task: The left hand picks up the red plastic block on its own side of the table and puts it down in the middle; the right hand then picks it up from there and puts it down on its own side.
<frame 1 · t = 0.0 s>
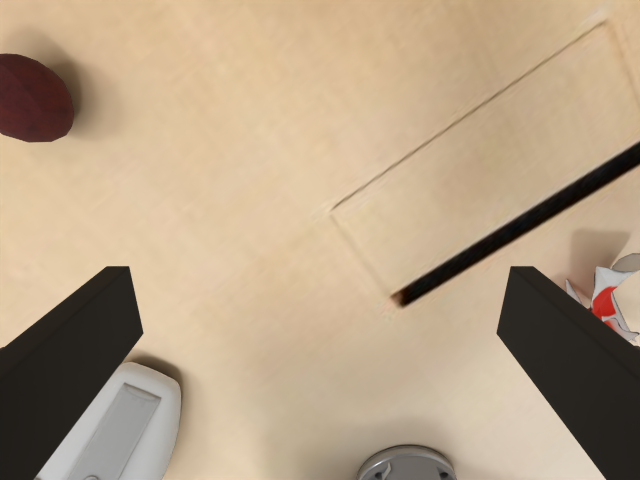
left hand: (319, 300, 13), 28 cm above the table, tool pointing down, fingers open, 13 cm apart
projector: (128, 417, 52), on the table
fish: (566, 288, 44), on the table
dark red ball: (53, 101, 36), on the table
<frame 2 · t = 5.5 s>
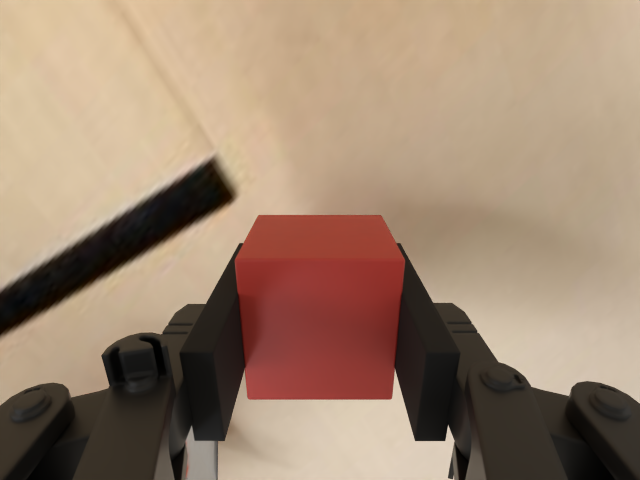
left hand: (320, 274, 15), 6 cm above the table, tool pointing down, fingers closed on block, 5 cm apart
block: (319, 273, 15), point 6 cm above the table, touching left hand
fish: (152, 409, 25), on the table
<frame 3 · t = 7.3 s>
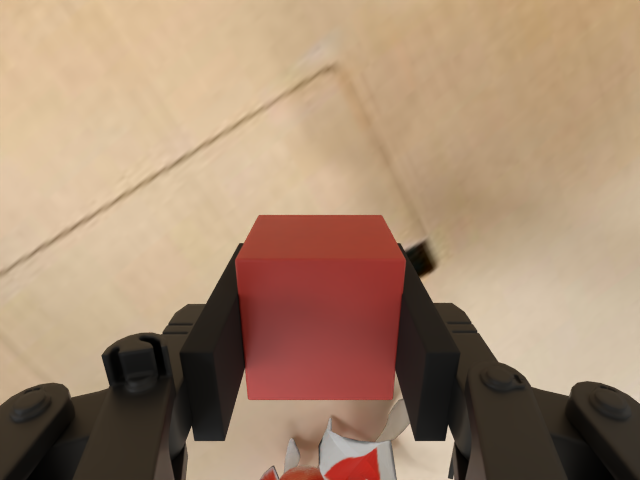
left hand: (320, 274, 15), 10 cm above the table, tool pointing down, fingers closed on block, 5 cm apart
block: (320, 274, 15), point 10 cm above the table, touching left hand
fish: (334, 427, 32), on the table
when the left hand's fingers open (1 cm above the table, at t = 9.2 s): block stays where it is, on the table.
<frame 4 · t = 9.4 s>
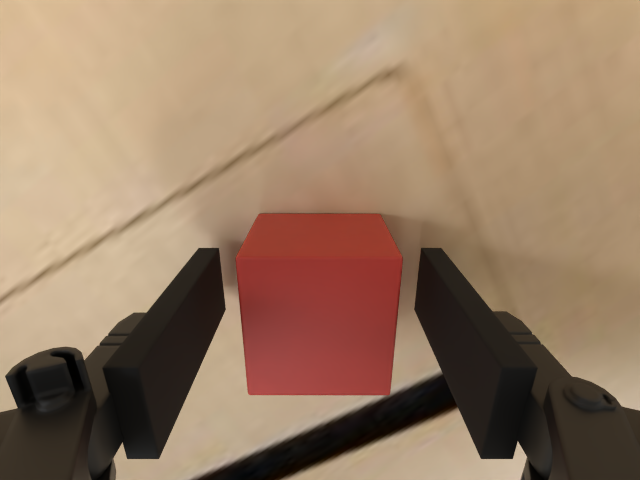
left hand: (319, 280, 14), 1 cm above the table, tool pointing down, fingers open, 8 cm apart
block: (319, 271, 15), on the table
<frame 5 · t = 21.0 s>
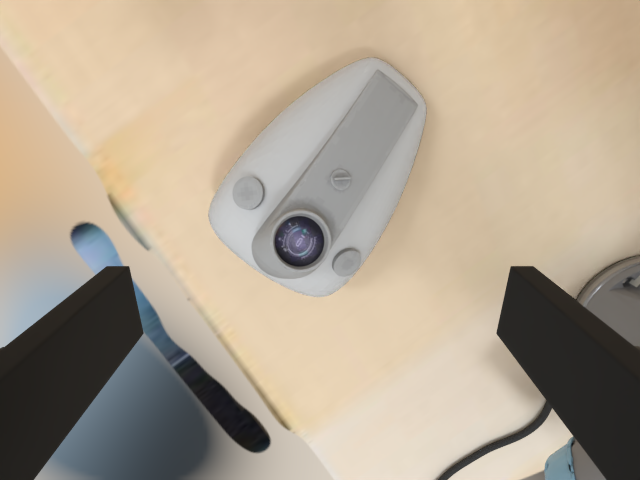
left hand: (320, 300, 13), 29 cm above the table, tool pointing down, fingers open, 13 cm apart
projector: (324, 168, 39), on the table
when the right hand's fingers open (1 cm above the table, at t = 27.6 s): block stays where it is, on the table.
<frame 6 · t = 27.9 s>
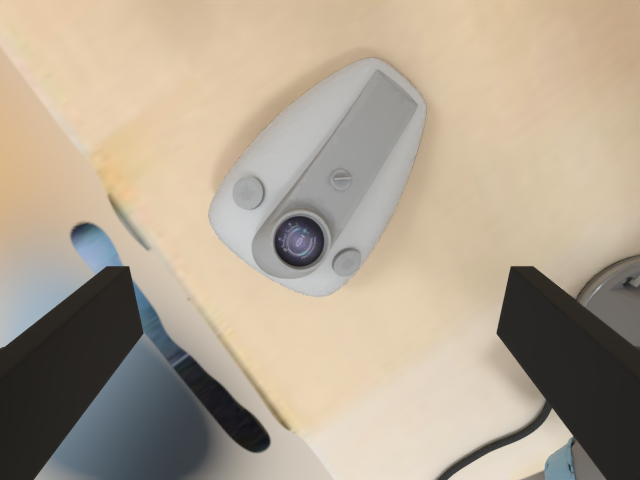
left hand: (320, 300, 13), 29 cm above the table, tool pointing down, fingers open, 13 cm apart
projector: (324, 168, 39), on the table
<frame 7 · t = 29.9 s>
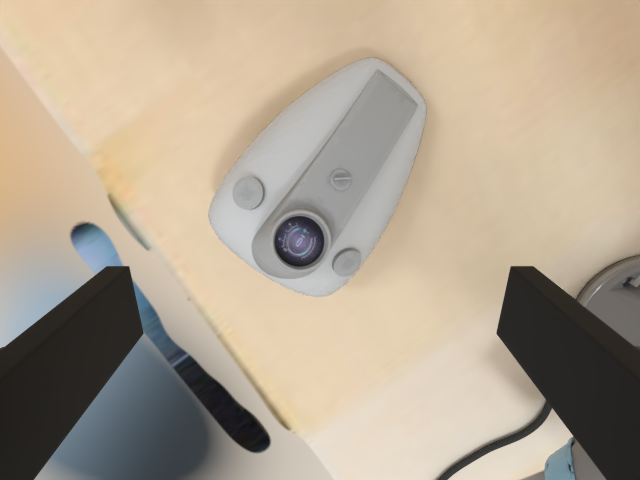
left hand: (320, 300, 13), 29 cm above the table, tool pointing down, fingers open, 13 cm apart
projector: (324, 168, 39), on the table
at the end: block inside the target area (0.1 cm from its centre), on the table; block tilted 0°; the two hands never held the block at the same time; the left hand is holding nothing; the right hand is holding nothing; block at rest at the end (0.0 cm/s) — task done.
